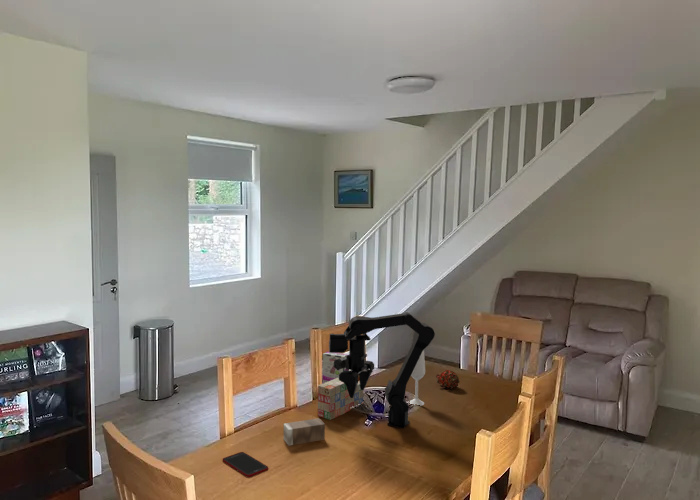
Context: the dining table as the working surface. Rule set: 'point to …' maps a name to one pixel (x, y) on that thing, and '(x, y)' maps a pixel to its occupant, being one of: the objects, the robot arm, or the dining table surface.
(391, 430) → the dining table surface
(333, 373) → the candy bar box
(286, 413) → the dining table surface
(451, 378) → the dragon fruit
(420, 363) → the champagne flute
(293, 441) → the silver metal block
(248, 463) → the cell phone
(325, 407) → the stack of blocks
